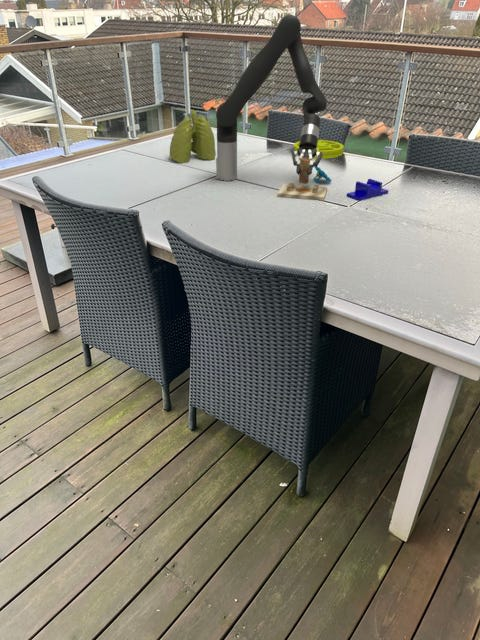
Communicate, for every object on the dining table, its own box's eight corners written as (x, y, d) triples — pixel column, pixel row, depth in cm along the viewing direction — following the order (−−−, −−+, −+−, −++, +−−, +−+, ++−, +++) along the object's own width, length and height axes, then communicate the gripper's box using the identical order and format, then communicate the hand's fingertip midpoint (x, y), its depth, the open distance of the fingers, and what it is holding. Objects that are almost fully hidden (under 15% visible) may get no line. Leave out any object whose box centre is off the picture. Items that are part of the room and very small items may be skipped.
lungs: (209, 153, 275) (208, 107, 262) (219, 160, 263) (218, 111, 250) (166, 157, 267) (162, 110, 254) (174, 164, 255) (170, 115, 242)
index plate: (277, 196, 210) (277, 188, 209) (282, 187, 222) (283, 179, 220) (323, 200, 206) (324, 192, 204) (327, 190, 218) (327, 182, 216)
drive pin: (298, 183, 210) (299, 159, 205) (299, 180, 214) (300, 157, 208) (307, 183, 209) (309, 160, 204) (309, 181, 213) (310, 157, 207)
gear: (334, 181, 224) (320, 166, 220) (325, 191, 225) (311, 176, 221) (327, 178, 234) (313, 163, 230) (318, 187, 235) (304, 172, 231)
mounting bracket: (375, 190, 220) (377, 176, 216) (387, 194, 215) (390, 180, 211) (346, 197, 211) (348, 183, 208) (358, 201, 206) (360, 187, 203)
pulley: (350, 151, 281) (351, 142, 278) (330, 161, 261) (331, 152, 258) (306, 145, 293) (307, 136, 290) (284, 154, 273) (285, 145, 271)
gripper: (292, 132, 209) (286, 168, 206) (325, 133, 206) (320, 170, 202) (293, 142, 216) (287, 177, 213) (326, 143, 213) (320, 179, 210)
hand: (303, 174), depth 208 cm, fingers closed on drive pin, 4 cm apart
